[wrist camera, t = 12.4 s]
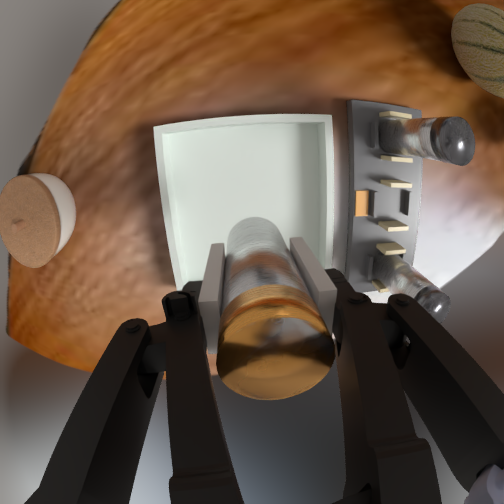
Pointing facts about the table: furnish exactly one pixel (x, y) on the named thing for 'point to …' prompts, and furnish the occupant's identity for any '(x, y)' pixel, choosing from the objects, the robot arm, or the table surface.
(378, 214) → the fuse holder
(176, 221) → the tray
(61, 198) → the lidded jar
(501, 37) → the cantaloupe
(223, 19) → the table surface
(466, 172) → the table surface
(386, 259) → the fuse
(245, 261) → the marked fuse
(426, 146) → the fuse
